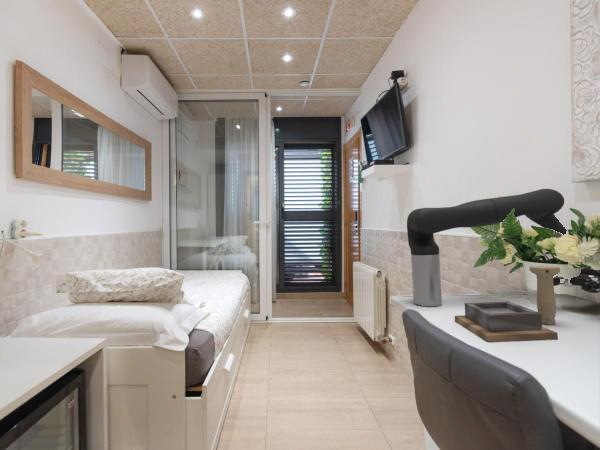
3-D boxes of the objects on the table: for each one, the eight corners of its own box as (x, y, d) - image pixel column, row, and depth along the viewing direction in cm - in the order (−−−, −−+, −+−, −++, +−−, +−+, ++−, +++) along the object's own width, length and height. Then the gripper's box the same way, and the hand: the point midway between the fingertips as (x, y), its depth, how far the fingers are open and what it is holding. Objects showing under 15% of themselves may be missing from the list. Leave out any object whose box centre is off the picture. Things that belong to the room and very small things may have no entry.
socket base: (454, 321, 88) (453, 301, 88) (512, 318, 88) (510, 299, 88) (487, 342, 72) (486, 318, 72) (557, 339, 72) (556, 315, 72)
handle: (565, 327, 79) (562, 268, 79) (535, 325, 82) (532, 268, 82) (559, 321, 83) (556, 265, 84) (530, 319, 86) (527, 265, 86)
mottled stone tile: (475, 311, 84) (474, 308, 84) (506, 310, 84) (506, 307, 84) (493, 321, 76) (493, 318, 76) (528, 319, 76) (528, 316, 76)
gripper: (568, 263, 100) (538, 268, 93) (629, 268, 87) (599, 274, 80) (570, 287, 100) (539, 293, 93) (631, 295, 87) (600, 303, 80)
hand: (567, 284), depth 87 cm, fingers open, 8 cm apart
